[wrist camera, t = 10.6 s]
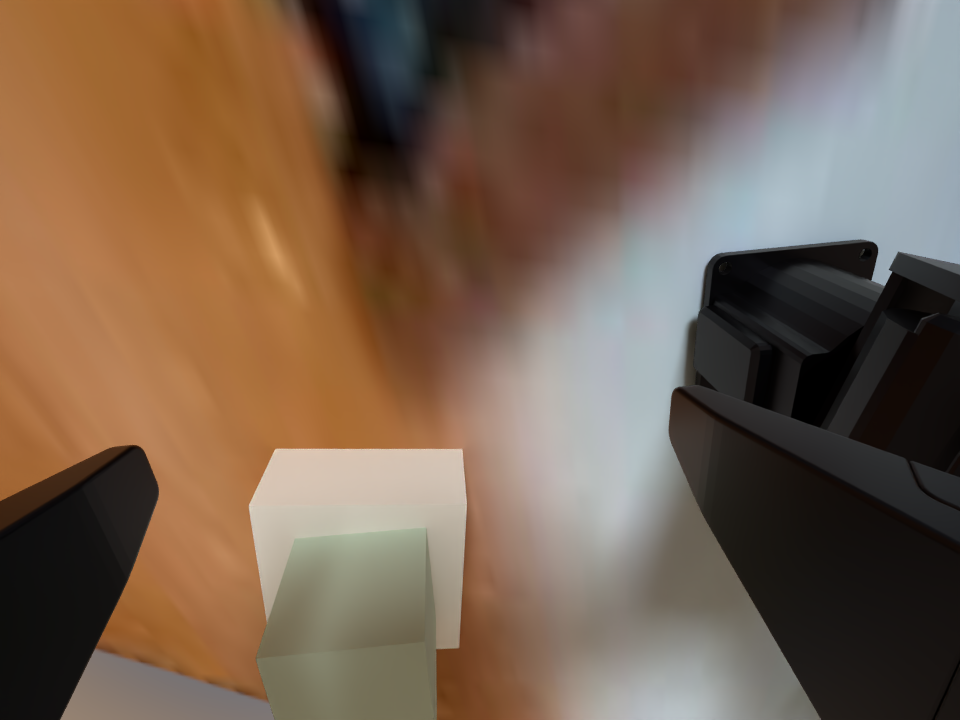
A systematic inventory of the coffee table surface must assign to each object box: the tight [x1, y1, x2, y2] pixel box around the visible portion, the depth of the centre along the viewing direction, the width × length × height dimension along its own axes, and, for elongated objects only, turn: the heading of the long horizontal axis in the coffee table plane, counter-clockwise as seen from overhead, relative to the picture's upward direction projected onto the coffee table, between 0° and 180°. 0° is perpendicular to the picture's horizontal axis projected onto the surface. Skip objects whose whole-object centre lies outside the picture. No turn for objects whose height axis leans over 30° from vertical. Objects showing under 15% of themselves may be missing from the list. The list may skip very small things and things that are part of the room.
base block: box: [249, 449, 467, 649], centre depth 24 cm, size 8×8×4 cm
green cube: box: [256, 527, 437, 720], centre depth 19 cm, size 5×5×5 cm
